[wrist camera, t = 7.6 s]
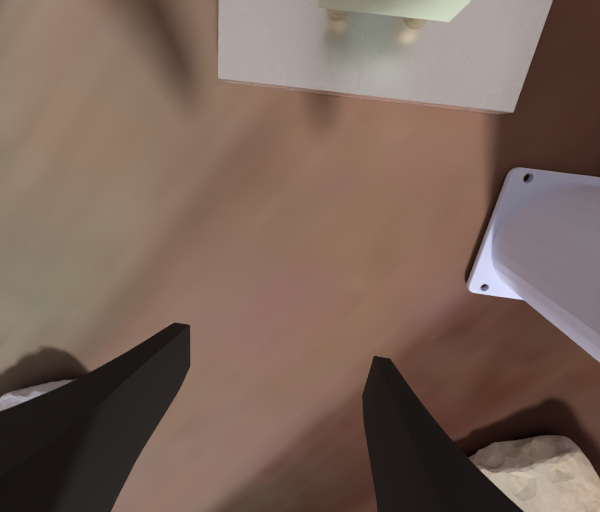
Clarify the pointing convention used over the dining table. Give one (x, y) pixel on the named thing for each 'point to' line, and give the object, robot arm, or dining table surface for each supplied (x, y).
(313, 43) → the base plate
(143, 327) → the dining table surface
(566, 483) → the cream rock
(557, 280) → the robot arm
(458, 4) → the block
